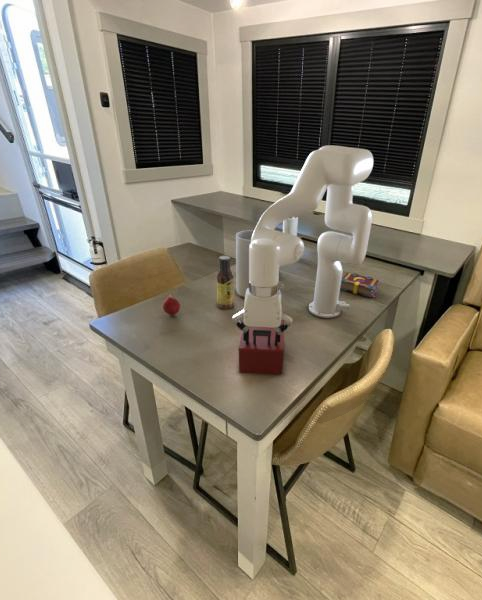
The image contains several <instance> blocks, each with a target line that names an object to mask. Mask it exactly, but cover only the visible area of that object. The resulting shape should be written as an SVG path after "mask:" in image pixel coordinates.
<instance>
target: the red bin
mask: <svg viewBox="0 0 482 600" xmlns="http://www.w3.org/2000/svg"><path fill="white" fill-rule="evenodd" d="M284 353H285V351H284V352H262V351H239V350H238V373H242V374H245V373H246V374H266V375H283V369H284V368H283V366H284Z"/></svg>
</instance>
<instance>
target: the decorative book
mask: <svg viewBox="0 0 482 600" xmlns="http://www.w3.org/2000/svg"><path fill="white" fill-rule="evenodd" d="M379 285H380V284H379V279H376V278H373V277H371V276H364V275H360V274H358V273H355V272H353V273H352V272H346V273H345V275H343V276H342V280H341V286H340V291H345V292H347V291H348V292H350V293H352V294H359V295H362V296H364V297H368V298H371V299H372V298H374V299H375V298H376V296H375V293H378V290H377V289H378V288H379Z"/></svg>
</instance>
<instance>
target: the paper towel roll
mask: <svg viewBox="0 0 482 600" xmlns="http://www.w3.org/2000/svg"><path fill="white" fill-rule="evenodd" d="M298 224H299V216H295V217H291V218H288V219H286V220H284V221H282V232H284V233H287V234H291V235H295V236H297V237H298V226H299V225H298Z"/></svg>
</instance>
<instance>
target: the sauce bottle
mask: <svg viewBox="0 0 482 600" xmlns="http://www.w3.org/2000/svg"><path fill="white" fill-rule="evenodd" d="M218 261H219V270H218V271H217V273H216V301H217V306H218V307H219V308H220V309H230V308H232V307H233V306H234V299H235V298H234V297H235V296H234V295H235V294H234V290H235V289H234V276H233V272H232V270H231V257H230V256H228V255H220V256H219V258H218Z"/></svg>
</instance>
